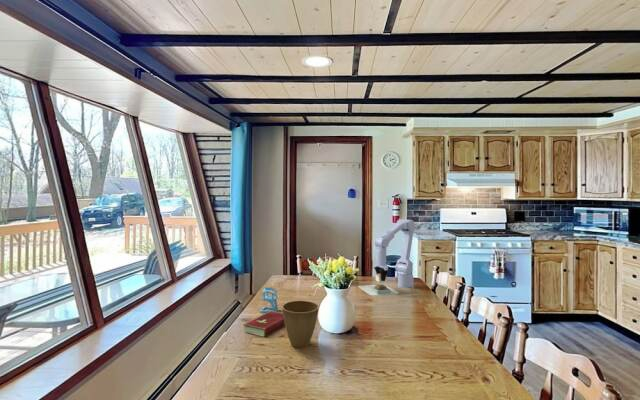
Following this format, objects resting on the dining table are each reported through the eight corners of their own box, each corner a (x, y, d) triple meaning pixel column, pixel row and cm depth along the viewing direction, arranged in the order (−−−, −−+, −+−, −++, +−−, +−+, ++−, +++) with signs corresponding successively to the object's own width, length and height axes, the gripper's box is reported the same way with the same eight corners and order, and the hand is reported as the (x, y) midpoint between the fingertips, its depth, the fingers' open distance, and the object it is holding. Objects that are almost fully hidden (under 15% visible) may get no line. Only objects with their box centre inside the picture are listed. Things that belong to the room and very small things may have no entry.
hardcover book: (291, 322, 183) (291, 314, 182) (264, 338, 164) (264, 328, 164) (270, 318, 188) (270, 310, 188) (243, 332, 170) (243, 323, 170)
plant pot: (274, 346, 155) (274, 307, 154) (296, 334, 167) (297, 298, 167) (304, 355, 147) (304, 314, 146) (325, 342, 159) (325, 304, 158)
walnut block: (382, 290, 235) (382, 284, 235) (386, 293, 230) (386, 286, 230) (375, 291, 234) (375, 284, 234) (378, 293, 229) (378, 286, 229)
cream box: (383, 279, 235) (383, 273, 235) (386, 281, 230) (386, 275, 230) (375, 280, 233) (375, 273, 233) (378, 282, 228) (379, 275, 228)
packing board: (383, 285, 251) (384, 280, 251) (399, 294, 230) (399, 289, 230) (356, 287, 246) (357, 282, 246) (370, 296, 225) (370, 291, 225)
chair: (275, 314, 194) (275, 290, 193) (259, 312, 196) (259, 289, 195) (279, 309, 201) (280, 286, 201) (264, 307, 203) (265, 285, 203)
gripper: (370, 255, 237) (370, 277, 238) (380, 260, 223) (380, 283, 224) (381, 255, 239) (380, 276, 239) (391, 259, 225) (391, 282, 226)
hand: (381, 279), depth 232 cm, fingers closed on cream box, 5 cm apart
